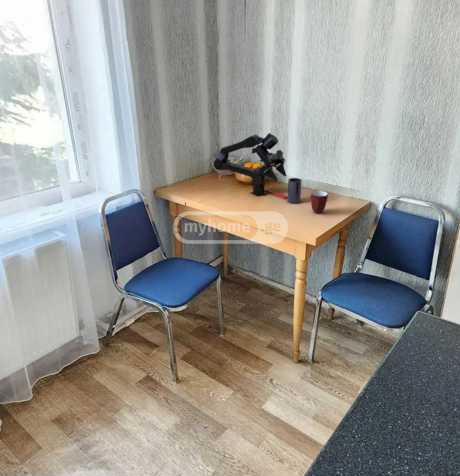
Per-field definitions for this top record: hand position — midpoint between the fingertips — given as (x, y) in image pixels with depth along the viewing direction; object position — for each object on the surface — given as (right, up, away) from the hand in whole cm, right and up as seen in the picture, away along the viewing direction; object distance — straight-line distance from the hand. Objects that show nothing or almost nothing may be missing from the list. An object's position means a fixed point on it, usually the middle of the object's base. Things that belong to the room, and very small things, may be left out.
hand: (281, 178), depth 211 cm
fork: (-2, -8, +11) cm, 14 cm away
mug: (+16, -19, -14) cm, 29 cm away
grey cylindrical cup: (+7, -12, +1) cm, 14 cm away
